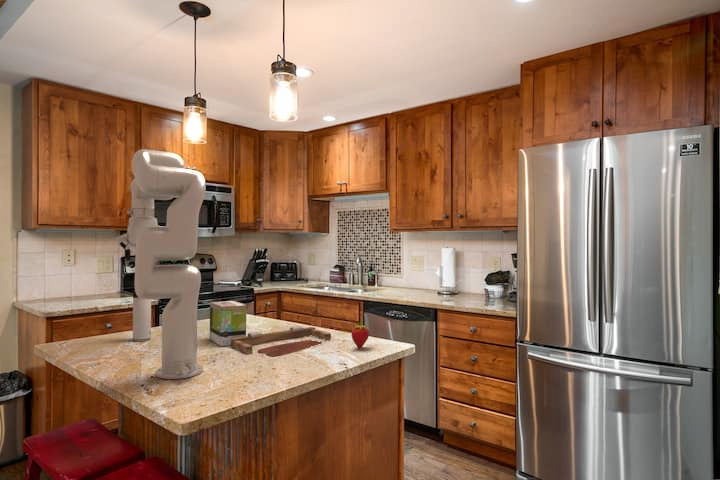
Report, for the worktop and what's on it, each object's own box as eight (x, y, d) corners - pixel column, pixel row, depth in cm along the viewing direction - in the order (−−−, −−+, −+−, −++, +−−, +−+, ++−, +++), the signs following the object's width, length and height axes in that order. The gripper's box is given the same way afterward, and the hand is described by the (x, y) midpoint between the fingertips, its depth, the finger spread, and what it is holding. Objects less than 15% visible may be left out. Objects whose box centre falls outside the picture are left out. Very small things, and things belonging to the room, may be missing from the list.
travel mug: (155, 339, 171) (155, 287, 171) (138, 342, 165) (139, 289, 165) (145, 337, 174) (146, 286, 174) (129, 340, 168) (129, 288, 168)
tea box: (247, 343, 165) (247, 304, 165) (220, 347, 159) (220, 306, 159) (234, 336, 177) (234, 299, 177) (208, 339, 172) (209, 301, 172)
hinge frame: (330, 340, 172) (330, 329, 172) (246, 354, 149) (247, 342, 149) (311, 334, 182) (311, 324, 182) (230, 346, 160) (230, 335, 160)
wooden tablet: (274, 359, 146) (274, 354, 146) (255, 353, 152) (255, 349, 152) (329, 344, 166) (329, 340, 166) (310, 340, 173) (310, 336, 173)
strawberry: (372, 347, 160) (372, 320, 160) (361, 352, 154) (361, 323, 154) (359, 345, 163) (359, 318, 163) (347, 349, 157) (347, 321, 157)
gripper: (119, 212, 154) (118, 261, 154) (170, 214, 165) (170, 260, 165) (114, 213, 160) (114, 260, 160) (164, 215, 171) (164, 259, 171)
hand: (142, 260), depth 163 cm, fingers open, 9 cm apart
